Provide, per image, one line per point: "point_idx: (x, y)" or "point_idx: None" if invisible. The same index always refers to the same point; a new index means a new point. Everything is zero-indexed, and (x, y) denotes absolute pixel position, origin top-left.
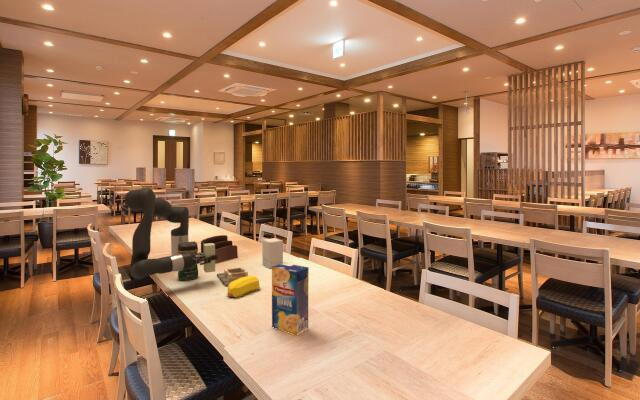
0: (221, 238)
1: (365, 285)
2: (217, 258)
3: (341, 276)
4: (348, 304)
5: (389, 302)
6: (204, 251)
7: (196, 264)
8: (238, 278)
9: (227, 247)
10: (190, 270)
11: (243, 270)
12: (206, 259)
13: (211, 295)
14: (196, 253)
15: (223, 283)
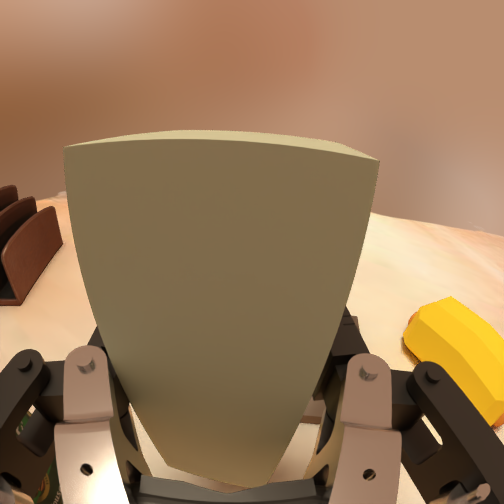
0: (4, 197)
1: (424, 223)
2: None
3: (373, 217)
4: (498, 263)
5: (483, 240)
6: (203, 342)
7: None
8: None
9: (36, 219)
10: (49, 495)
11: None
12: (476, 430)
13: None
14: (5, 416)
15: (316, 421)
